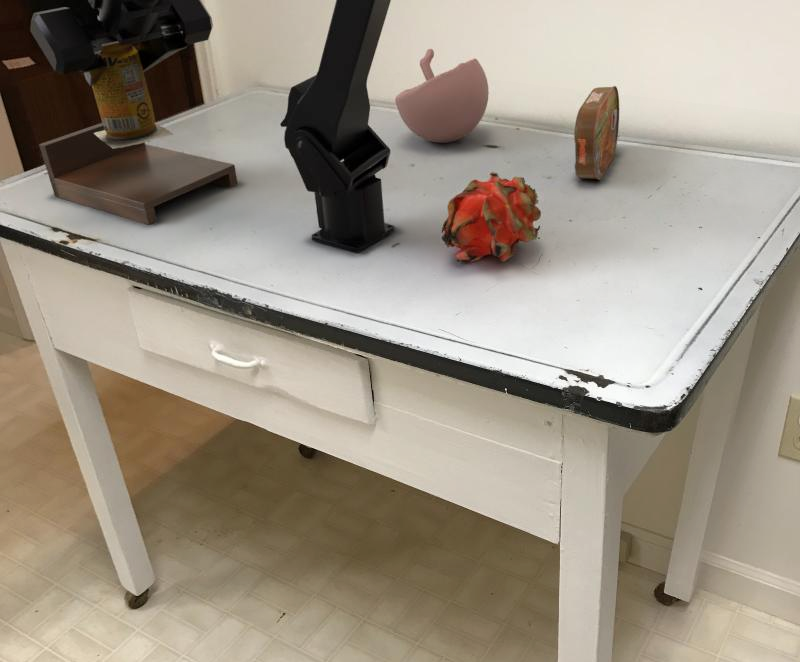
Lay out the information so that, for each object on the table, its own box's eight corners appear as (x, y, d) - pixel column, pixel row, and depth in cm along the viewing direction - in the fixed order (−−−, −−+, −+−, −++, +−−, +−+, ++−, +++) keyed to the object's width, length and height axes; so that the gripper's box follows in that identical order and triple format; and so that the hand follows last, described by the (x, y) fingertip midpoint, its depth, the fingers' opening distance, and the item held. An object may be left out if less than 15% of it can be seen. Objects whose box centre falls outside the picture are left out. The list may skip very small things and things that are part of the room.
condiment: (151, 120, 106) (124, 17, 99) (174, 135, 100) (147, 26, 93) (93, 135, 103) (62, 29, 97) (113, 151, 97) (81, 40, 91)
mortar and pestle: (431, 121, 121) (428, 35, 114) (505, 133, 115) (506, 43, 108) (380, 147, 113) (374, 56, 107) (457, 161, 107) (454, 66, 101)
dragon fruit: (542, 250, 88) (457, 305, 83) (490, 189, 89) (404, 239, 85) (577, 203, 80) (485, 260, 76) (520, 137, 82) (426, 189, 77)
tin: (595, 190, 96) (600, 115, 92) (567, 188, 97) (571, 113, 93) (619, 147, 108) (625, 77, 103) (594, 145, 109) (598, 76, 104)
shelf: (238, 184, 105) (228, 131, 101) (148, 224, 96) (135, 168, 92) (143, 161, 114) (132, 112, 111) (54, 196, 106) (38, 144, 102)
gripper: (176, -100, 91) (150, 4, 104) (6, -77, 81) (0, 34, 95) (230, -14, 91) (197, 79, 104) (65, 20, 81) (52, 118, 94)
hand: (114, 75), depth 99 cm, fingers closed on condiment, 6 cm apart
